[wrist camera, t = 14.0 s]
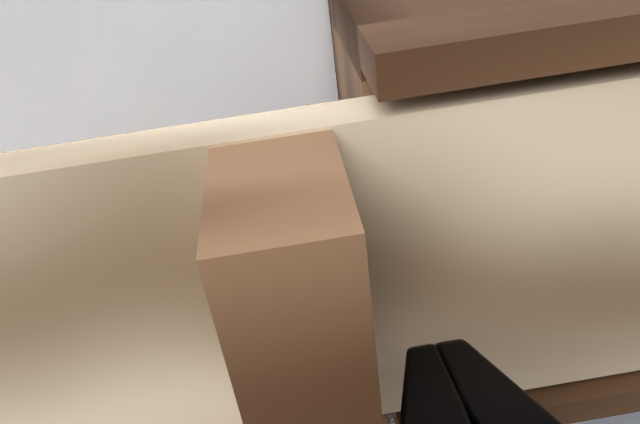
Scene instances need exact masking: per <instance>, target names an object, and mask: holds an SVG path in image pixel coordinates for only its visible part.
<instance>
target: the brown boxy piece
mask: <svg viewBox="0 0 640 424" xmlns="http://www.w3.org/2000/svg"><path fill="white" fill-rule="evenodd" d="M328 5H329V14H330V23H331V33H332V42H333V51H334V60H335V70H336V79H337V88H338V98H339V100H344V99H351V98H357V97H364V96H370V95H375V97H376V99H377V101H378V102H385V101H391V100H398V99H404V98H410V97H417V96H423V95H430V94H436V93H443V92H449V91H455V90H462V89H468V88H475V87H481V86H488V85H494V84H500V83H507V82H513V81H520V80H526V79H533V78H539V77H546V76H552V75H558V74H565V73H571V72H578V71H584V70H591V69H597V68H603V67H610V66H616V65H623V64H629V63H636V62H640V0H328ZM524 391H525V392H526V393H527V394H528V395H530V396H531V397H532V398H533V399H534V400H535V401H537V402H538V403H539V404H540V405H541V406H542V407H544V408H545V409H546V410H547V411H548V412H549V413H551V414H552V415H553V416H554V417H555V418H556V419H558V420H559V421H560V422H561V423H562V424H570V423H575V422H581V421H587V420H593V419H598V418H604V417H610V416H616V415H621V414H627V413H633V412H639V411H640V370H638V371H632V372H626V373H620V374H615V375H609V376H603V377H597V378H591V379H585V380H580V381H574V382H568V383H562V384H556V385H551V386H545V387H539V388H533V389H527V390H524ZM400 412H401V411H399V412H394V413H392V414H393V417H394V421H395V424H399V422H400Z"/></svg>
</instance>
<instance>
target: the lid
mask: <svg viewBox="0 0 640 424" xmlns="http://www.w3.org/2000/svg"><path fill="white" fill-rule="evenodd" d="M455 339H463V340H465V341H467V342H468V343H469V344H470V345H471V346H472V347H474V348H475V349H476V350H477V351H478V352H479V353H481V354H482V355H483V356H484V357H485V358H486V359H488V360H489V361H490V362H491V363H492V364H493V365H495V366H496V367H497V368H498V369H499V370H500V371H502V372H503V373H504V374H505V375H506V376H507V377H509V378H510V379H511V380H512V381H513V382H514V383H516V384H517V385H518V386H519V387H520V388H521V389H523V390H527V389H533V388H539V387H545V386H551V385H556V384H562V383H568V382H574V381H580V380H585V379H591V378H597V377H603V376H609V375H615V374H620V373H626V372H632V371H638V370H640V62H636V63H629V64H623V65H616V66H610V67H603V68H597V69H591V70H584V71H578V72H571V73H565V74H558V75H552V76H546V77H539V78H533V79H526V80H520V81H513V82H507V83H500V84H494V85H488V86H481V87H475V88H468V89H462V90H455V91H449V92H443V93H436V94H430V95H423V96H417V97H410V98H404V99H398V100H391V101H385V102H378V101H377V99H376V97H375V95H370V96H364V97H357V98H351V99H344V100H338V101H331V102H325V103H319V104H312V105H306V106H299V107H293V108H286V109H280V110H273V111H267V112H261V113H254V114H248V115H241V116H235V117H228V118H222V119H215V120H209V121H203V122H196V123H190V124H183V125H177V126H170V127H164V128H157V129H151V130H144V131H138V132H132V133H125V134H119V135H112V136H106V137H99V138H93V139H86V140H80V141H74V142H67V143H61V144H54V145H48V146H41V147H35V148H28V149H22V150H15V151H9V152H3V153H0V424H383V417H382V414H388V413H394V412H399V411H401V401H402V391H403V381H404V370H405V360H406V352H407V349H408V348H410V347H414V346H419V345H425V344H434V345H435V344H436V343H438V342H443V341H449V340H455Z"/></svg>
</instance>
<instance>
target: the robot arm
mask: <svg viewBox="0 0 640 424" xmlns="http://www.w3.org/2000/svg"><path fill="white" fill-rule="evenodd" d="M399 424H562V423H561V422H560V421H559V420H558V419H556V418H555V417H554V416H553V415H552V414H551V413H549V412H548V411H547V410H546V409H545V408H544V407H542V406H541V405H540V404H539V403H538V402H537V401H535V400H534V399H533V398H532V397H531V396H530V395H528V394H527V393H526V392H525V391H524V390H523V389H521V388H520V387H519V386H518V385H517V384H516V383H514V382H513V381H512V380H511V379H510V378H509V377H507V376H506V375H505V374H504V373H503V372H502V371H500V370H499V369H498V368H497V367H496V366H495V365H493V364H492V363H491V362H490V361H489V360H488V359H486V358H485V357H484V356H483V355H482V354H481V353H479V352H478V351H477V350H476V349H475V348H474V347H472V346H471V345H470V344H469V343H468V342H467V341H465V340H463V339H455V340H449V341H443V342H438V343H436V344H435V345H434V344H425V345H419V346H414V347H410V348H408V349H407V352H406V360H405V370H404V381H403V391H402V401H401V412H400V422H399Z"/></svg>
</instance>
